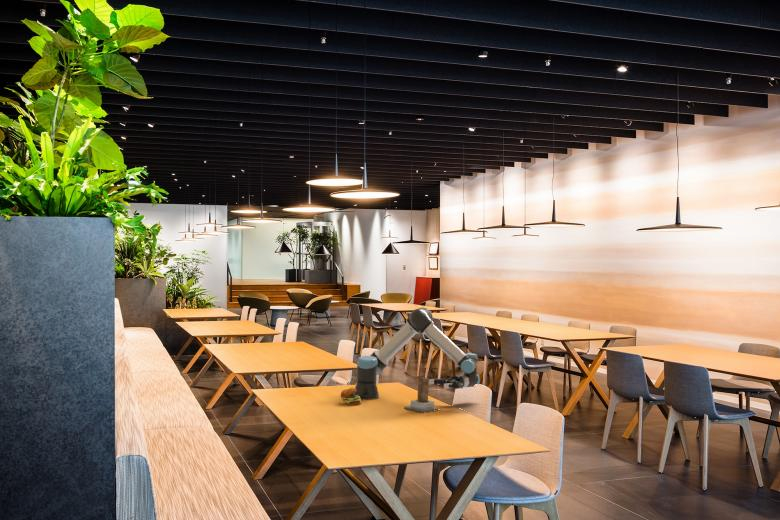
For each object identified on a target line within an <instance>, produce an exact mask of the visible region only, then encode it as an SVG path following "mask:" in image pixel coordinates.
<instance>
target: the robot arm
mask: <svg viewBox="0 0 780 520" xmlns="http://www.w3.org/2000/svg"><path fill="white" fill-rule="evenodd" d="M405 321H406V323H405V324H404V325H403V326H402V327H401V328H400V329H399V330H398V331H397V332H396V333H395V334H394V335H393V336H392V337H391V338H390V339H388V341H387V342H386V343H385V344H384V345H382V347H381V348H380V349H379V350H374V351H373V352H372V353H371V354H370V355H362V356H359V357H358V358H357V363H356V383H355V387H354V388H355V389H356V390H357V391H356V392H355V393H354V394H353V395H359V396H360V398H361V400H375V399H377V400H378V399H379V395H380V394H379V391H378V387H377V385H378V384H377V377H378V375H380V374H382V373H383V371H384V369H385V368H387V366H389V363H390V362H389V361H390V360H391V359H393V357H394V356H395V355H396V354H397V353H398V352H399V351H400V350H401V349H402V348H403V347H405V345H407V343H408V342H409V341H410V340H411V339H412V338H413V337H414V336H415V335H416V334H417V335H419V334H422V335H425V336H426V337H427V338H428V339H430V341H432V343H434V344H435V345H436V346H437V347H438V348H439V349H440V350H441V351H442V352H443V353H444V354H446V355H447V356H448V357H449V358H450V359H451V360H452V361H453V362H454V363H455V364H456V365H457V366H458V367H459V368H460V369H461V371H462V373H463V374H457V375H453V376H452V377H451V378H445V377H444V378H430V379H429V386H431V385H432V386H434V385H443V390H446V389H447V390H448V389H457V390H458V389H462V390H463V389H465V388H473V387H475V386H474V385H475V384H478V385H480V382H481V378H480V375H479V374H478V372H477V371H478V354H476V353H465V352H464V351H462V349H460V347H458V346H457V344H455V343H454V342H453V341H452V340H451V339H450V338H449V337H448V336H447V335H446V334H444V333H443V331H442V330H440V329H439V328H438V327H437V326H436V325H435V322H434V321H433V313H432V312H431V310H430V309H428V308H426V307H419V308H415V309H414V310H412V312H411V313H410V315H409V316H408V317H407V318H406V320H405Z"/></svg>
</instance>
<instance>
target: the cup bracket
mask: <svg viewBox="0 0 780 520" xmlns="http://www.w3.org/2000/svg"><path fill="white" fill-rule="evenodd" d="M417 400H418V399H412V400H410V405H406V406H403V409H405V410H409V411H412V410H413V412H417V413H421V412H422V414H424V412H426V413H431V412H430V411H433V412H435V411H434V410H438V409H440V410H441V407H436V406H435V401H434V400H429V399H428V402H424V403H422V402H418V401H417Z"/></svg>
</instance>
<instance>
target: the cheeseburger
mask: <svg viewBox="0 0 780 520" xmlns="http://www.w3.org/2000/svg"><path fill="white" fill-rule="evenodd" d="M356 391H357V390H356V389H355V387H350V388H347V389H344V390H342V391H341V392H340V398H342V401H343V404H344V405H347V406H353V405H361V404H362V399H361V398H360V396H359V395H353V394H354V393H355V392H356Z"/></svg>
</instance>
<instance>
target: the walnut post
mask: <svg viewBox="0 0 780 520" xmlns="http://www.w3.org/2000/svg"><path fill="white" fill-rule="evenodd" d="M417 380H418V381H417V399H416V400H417V401H418V402H422V403H424V402H428V400H429V386H430V385H429V380H430V379H429V377H424V376H421V377H418V379H417Z"/></svg>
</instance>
